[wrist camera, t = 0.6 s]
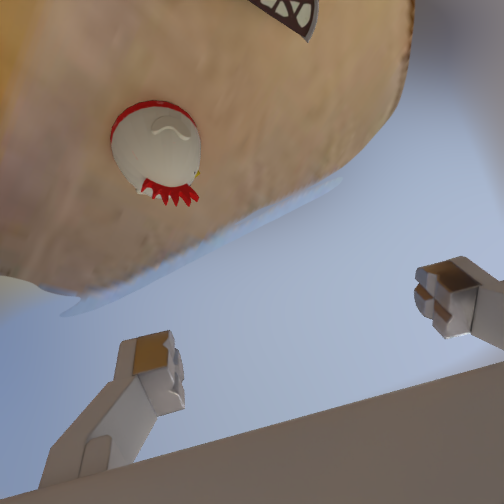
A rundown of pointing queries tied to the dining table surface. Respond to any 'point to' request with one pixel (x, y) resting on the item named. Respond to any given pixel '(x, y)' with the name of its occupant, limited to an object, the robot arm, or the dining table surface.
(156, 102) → the kitchen timer
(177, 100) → the dining table surface
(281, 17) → the food container
